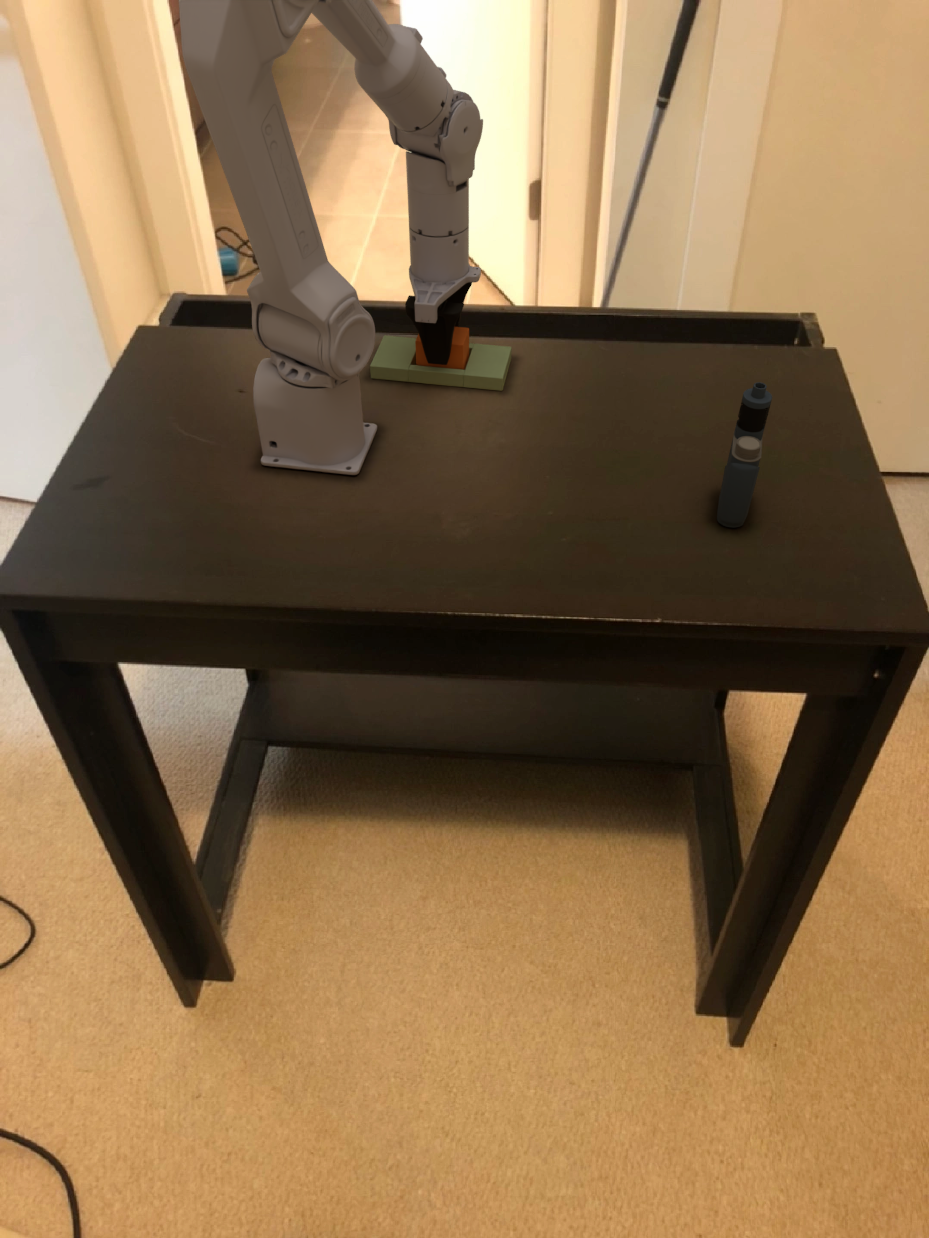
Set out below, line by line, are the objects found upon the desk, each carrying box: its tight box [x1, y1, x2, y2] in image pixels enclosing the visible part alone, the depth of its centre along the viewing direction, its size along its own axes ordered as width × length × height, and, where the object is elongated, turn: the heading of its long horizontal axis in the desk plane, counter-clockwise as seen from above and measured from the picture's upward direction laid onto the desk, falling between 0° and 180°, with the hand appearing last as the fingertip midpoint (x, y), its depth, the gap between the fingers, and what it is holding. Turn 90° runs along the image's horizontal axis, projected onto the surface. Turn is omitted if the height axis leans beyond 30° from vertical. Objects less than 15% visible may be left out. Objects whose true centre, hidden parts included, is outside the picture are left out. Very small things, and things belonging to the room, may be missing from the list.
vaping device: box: [716, 381, 773, 529], centre depth 83 cm, size 3×5×12 cm, turn 166°
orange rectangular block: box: [415, 326, 470, 370], centre depth 103 cm, size 5×4×4 cm
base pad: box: [369, 334, 513, 392], centre depth 104 cm, size 14×6×2 cm, turn 80°
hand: (441, 352), depth 103 cm, fingers closed on orange rectangular block, 3 cm apart
